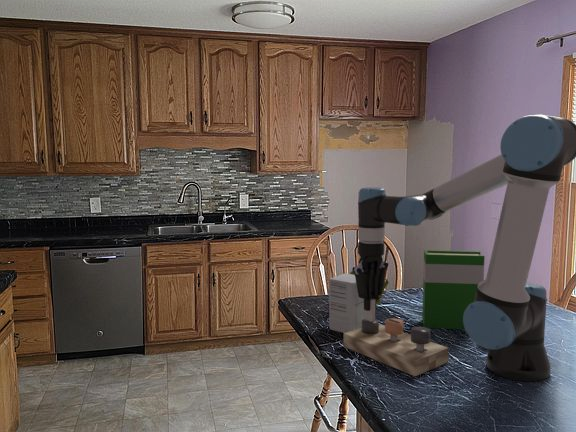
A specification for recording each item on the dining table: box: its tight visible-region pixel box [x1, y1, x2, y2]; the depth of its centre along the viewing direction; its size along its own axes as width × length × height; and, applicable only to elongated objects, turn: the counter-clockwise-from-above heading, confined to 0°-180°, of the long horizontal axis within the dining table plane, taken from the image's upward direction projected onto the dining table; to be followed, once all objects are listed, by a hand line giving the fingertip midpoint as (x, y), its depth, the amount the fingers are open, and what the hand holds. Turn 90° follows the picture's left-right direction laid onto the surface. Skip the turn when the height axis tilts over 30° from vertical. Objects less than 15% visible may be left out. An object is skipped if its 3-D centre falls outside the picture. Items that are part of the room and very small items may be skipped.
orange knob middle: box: [384, 317, 404, 343], centre depth 143 cm, size 5×5×7 cm
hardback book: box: [421, 249, 486, 331], centre depth 166 cm, size 18×7×24 cm, turn 80°
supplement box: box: [328, 272, 365, 334], centre depth 164 cm, size 10×9×17 cm
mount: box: [343, 323, 450, 377], centre depth 144 cm, size 26×14×4 cm, turn 38°
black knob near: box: [410, 326, 431, 353], centre depth 136 cm, size 5×5×7 cm
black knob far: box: [362, 318, 380, 334], centre depth 150 cm, size 5×5×7 cm
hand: (369, 320), depth 150 cm, fingers closed
